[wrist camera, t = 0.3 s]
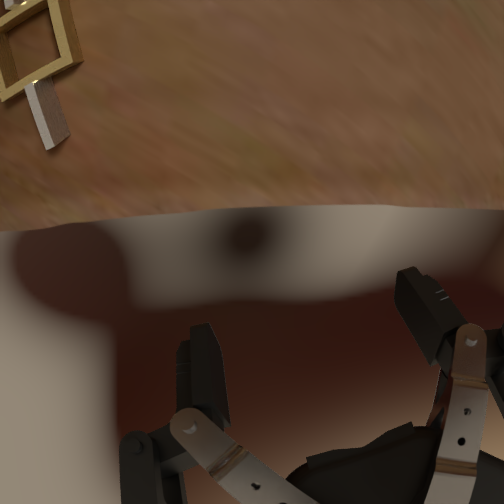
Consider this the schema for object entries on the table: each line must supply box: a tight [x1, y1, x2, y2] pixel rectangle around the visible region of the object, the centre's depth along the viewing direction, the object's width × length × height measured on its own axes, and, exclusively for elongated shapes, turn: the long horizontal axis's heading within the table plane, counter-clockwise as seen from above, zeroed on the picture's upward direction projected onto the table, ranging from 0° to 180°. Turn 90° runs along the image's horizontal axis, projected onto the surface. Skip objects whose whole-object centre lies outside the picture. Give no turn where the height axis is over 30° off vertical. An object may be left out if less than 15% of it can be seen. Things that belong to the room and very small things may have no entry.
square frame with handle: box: [0, 0, 84, 150], centre depth 23 cm, size 26×10×5 cm, turn 11°
